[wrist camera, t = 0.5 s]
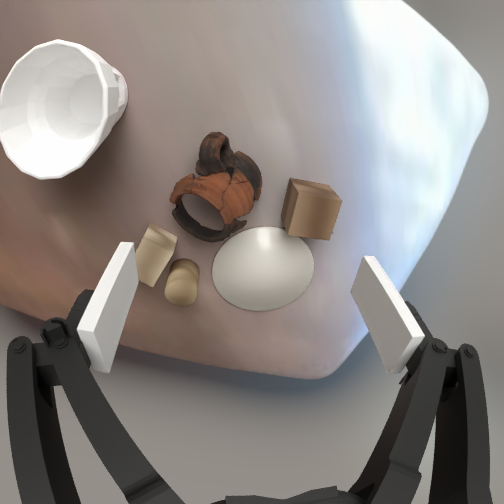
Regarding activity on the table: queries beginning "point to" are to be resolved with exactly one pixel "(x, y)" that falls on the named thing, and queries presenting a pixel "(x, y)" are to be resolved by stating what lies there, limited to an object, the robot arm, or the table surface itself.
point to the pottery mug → (219, 187)
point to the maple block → (153, 253)
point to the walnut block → (310, 209)
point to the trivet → (262, 268)
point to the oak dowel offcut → (182, 282)
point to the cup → (59, 108)
